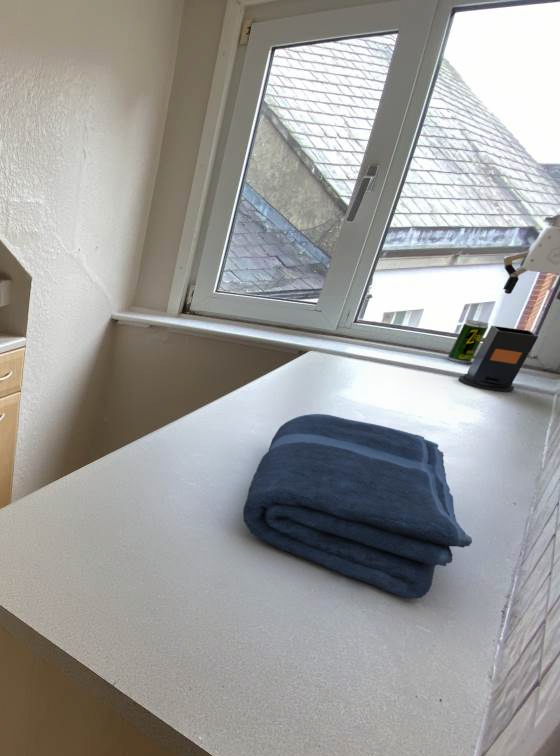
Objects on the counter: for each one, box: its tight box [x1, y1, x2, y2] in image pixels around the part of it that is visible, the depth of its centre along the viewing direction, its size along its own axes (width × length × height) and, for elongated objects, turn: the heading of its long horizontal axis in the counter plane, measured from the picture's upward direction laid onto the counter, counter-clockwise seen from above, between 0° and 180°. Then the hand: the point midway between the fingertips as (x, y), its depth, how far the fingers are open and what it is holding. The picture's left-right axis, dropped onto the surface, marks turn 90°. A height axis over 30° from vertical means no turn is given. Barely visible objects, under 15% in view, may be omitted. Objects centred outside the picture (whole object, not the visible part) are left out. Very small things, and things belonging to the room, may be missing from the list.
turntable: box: [457, 375, 515, 393], centre depth 148 cm, size 11×11×1 cm
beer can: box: [447, 319, 489, 364], centre depth 166 cm, size 5×5×12 cm
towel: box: [242, 413, 473, 600], centre depth 85 cm, size 24×43×10 cm, turn 142°
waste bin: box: [463, 325, 539, 388], centre depth 144 cm, size 10×10×14 cm
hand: (532, 296), depth 138 cm, fingers open, 9 cm apart
